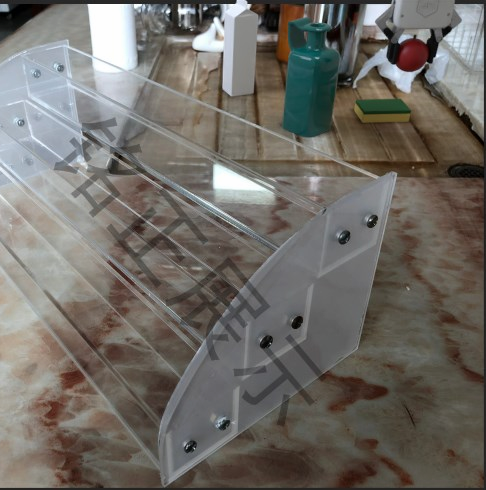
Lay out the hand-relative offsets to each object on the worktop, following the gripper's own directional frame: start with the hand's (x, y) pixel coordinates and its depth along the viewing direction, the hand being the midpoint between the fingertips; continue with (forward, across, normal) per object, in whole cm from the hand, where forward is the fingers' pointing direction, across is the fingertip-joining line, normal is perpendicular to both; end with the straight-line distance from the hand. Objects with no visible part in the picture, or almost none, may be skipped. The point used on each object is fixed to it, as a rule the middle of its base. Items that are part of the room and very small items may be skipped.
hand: (409, 61), depth 114 cm
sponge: (+16, +1, +11) cm, 20 cm away
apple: (+2, 0, 0) cm, 2 cm away
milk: (+16, -29, +29) cm, 45 cm away
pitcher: (+16, -17, +6) cm, 25 cm away
